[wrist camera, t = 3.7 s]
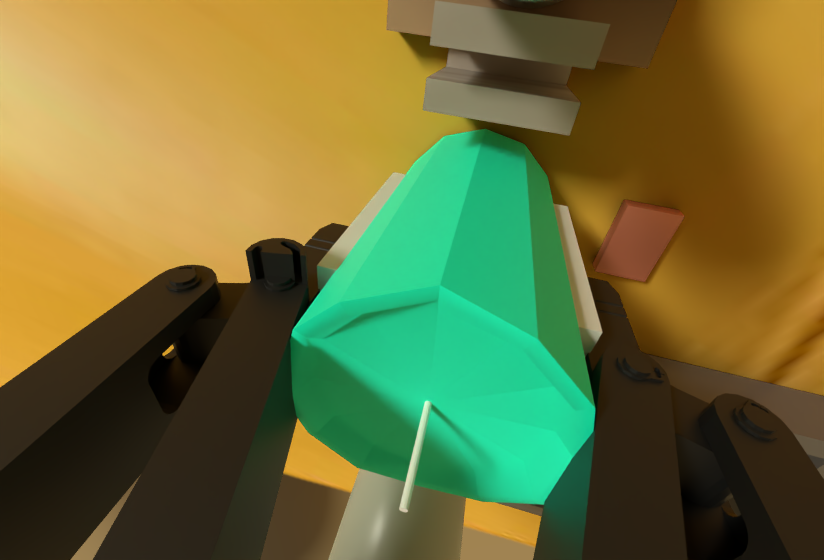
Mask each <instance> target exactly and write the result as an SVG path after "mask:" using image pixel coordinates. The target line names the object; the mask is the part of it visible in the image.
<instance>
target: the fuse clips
mask: <svg viewBox="0 0 824 560" xmlns="http://www.w3.org/2000/svg"><path fill="white" fill-rule="evenodd" d="M676 2H677V0H563V1H560V2H558V3H555V4H553V5H549V6H545V7H541V8H531V9H530V8H519V7H514V6H510V5H508V4H505V3H503V2H501V1H499V0H388V14H387V30H390V31H397V32H404V33H411V34H417V35H424V36H431V39H430V45H433V46H439V47H446V48H449V52H448V59H447V65H446V67H445V68H443V69H441V70H439V71H438V72H436V73H434V74H432V75H431V76H429V77H427V80H426V88H425V96H424V104H423V110H424V111H430V112H436V113H442V114H447V115H453V116H459V117H465V118H470V119H476V120H482V121H488V122H494V123H499V124H505V125H511V126H517V127H522V128H528V129H534V130H540V131H545V132H551V133H557V134H563V135H568V136H570V133H571V130H572V127H573V124H574V121H575V119H576V116H577V113H578V110H579V107H580V105H581V102H580V101H579V100H578V99H577V97H576V96H575V95H574V94H573V93H572V92H571V90H570V89H569V88H568V87H567V86H566V85H567V81H568V78H569V75H570V72H571V69H572V67H578V68H585V69H592V70H594V69H595V66H596V63H597V61H600V62H607V63H613V64H620V65H627V66H634V67H640V68H647V69H648V67H649V64H650V62H651V60H652V57H653V55H654V53H655V50H656V48H657V46H658V43H659V41H660V39H661V37H662V34H663V32H664V30H665V27H666V25H667V23H668V20H669V18H670V16H671V13H672V11H673V9H674V6H675V4H676ZM684 217H685V216H684V215H683V214H682V213H681V212H680V211H679V210H677V209H672V208H666V207H661V206H656V205H651V204H645V203H640V202H635V201H630V200H624V201H623V203H622V205H621V207H620V209H619V211H618V213H617V215H616V217H615V219H614V221H613V223H612V225H611V227H610V229H609V231H608V233H607V235H606V237H605V239H604V241H603V244H602V246H601V248H600V250H599V252H598V254H597V256H596V258H595V260H594V262H593V267H594V270H595V271H596V272H601V273H605V274H610V275H615V276H619V277H624V278H628V279H633V280H638V281H642V282H645V281H646V279H647V277H648V276H649V274H650V272H651V271H652V269H653V268H654V266H655V264H656V263H657V261H658V259H659V258H660V256H661V255H662V253H663V251H664V250H665V248H666V246H667V245H668V243H669V241H670V240H671V238H672V237H673V235H674V233H675V232H676V230H677V228H678V227H679V225H680V224H681V222H682V220H683V219H684Z"/></svg>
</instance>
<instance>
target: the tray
mask: <svg viewBox="0 0 824 560" xmlns="http://www.w3.org/2000/svg"><path fill="white" fill-rule="evenodd" d="M647 355H649V354H647ZM649 356H650V357H651V358H653V359H654V360H655V361H656V362H658V363H659V364H660V366H661V367H662V368H663V369H664V370H665V372H666V373H667V376H668V378H669V381H670V385H672V386H674V387H675V388H677V389H679V390H681V391H683V392H686V393H688V394H690V395H692V396H694V397H696V398H698V399H701V400H703V401H705V402H707V403H709V404H710V403H711V402H712V401H713V400H714V399H715V398H716V397H717V396H719V395H722V394H725V393H729V394H738V395H740V396H743V397H746V398H749V399H751V400H754V401H755V402H757V403H759V404H760V405H763V406H764V407H766V408H767V409H769V410H770V411H771V412H772V413H774V414H775V415H776V416H777V417H779V418H780V419H781V420H782V421H783V422H784V423H785V424H786V425H787V427H788V428H789V429H790V430H791V431H792V432H793V434H794V435H795V437H796V438H797V440H798V441H799V443H800V444H801V446H802V447H803V449H804V450H805V452H806V453H807V455H808V456H809V458H810V459H811V461H812V462H813V464H814V465H815V467H816V468H817V470H818V471H819V473H820V474H821V476H822V477H823V479H824V396H821V395H817V394H812V393H808V392H804V391H800V390H796V389H791V388H787V387H783V386H779V385H775V384H770V383H766V382H762V381H758V380H754V379H749V378H745V377H741V376H737V375H733V374H728V373H724V372H720V371H716V370H712V369H707V368H703V367H699V366H695V365H691V364H686V363H682V362H678V361H674V360H670V359H665V358H661V357H657V356H653V355H649ZM728 501H729V503H730V505H731V508H732V509H733V511H734V513H735V514H736V515H737V516H740V515H741V513H740V511H739V509H738V506H737V504H736V502H735V500H734V498H733V497H732V498H731V499H729V500H728ZM496 503H499V504H502V505H506V506H509V507H512V508H516V509H519V510H522V511H526V512H529V513H532V514H536V515H539V516H542V512H543V507H544V505H542V504H521V503H501V502H496Z"/></svg>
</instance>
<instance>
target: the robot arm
mask: <svg viewBox="0 0 824 560" xmlns="http://www.w3.org/2000/svg"><path fill="white" fill-rule="evenodd" d="M404 177H405V174H400V173H395V172H393V173H392V175H391V176H390V177H389V178H388V180H387V181H386V182H385V183H384V184H383V186H382V187H381V188H380V189H379V191H378V192H377V193H376V194H375V195H374V197H373V198H372V199H371V200H370V201H369V203H368V204H367V205H366V206H365V208H364V209H363V210H362V211H361V212H360V214H359V215H358V216H357V217H356V219H355V220H354V221H353V222H352V223H351V225H350V226H344V225H340V224H335V223H332V224H330V225H327V226H325V227H323V228H321V229H319V230H318V231H317V232H316V234H315V235H314V236H313V237H312V239H310V240H309V241H308V242H307V243H306V244H305V246H303V245H302V244H300V243H298V242H296V241H294V240H290V239H285V238H272V239H267V240H262V241H259V242H257V243H255V244H253V245H251V246H250V247H249V248H248V249H247V250H246V256H247V261H248V266H249V272H250V277H251V281H250V283H218V281H217V277H216V274H215V273H214V271H213V270H212V269H210V268H207V267H205V266H200V265H184V266H179V267H176V268H172V269H169V270H167V271H165V272H163V273H161V274H160V275H158V276H156V277H155V278H154V279H152V280H151V281H149V282H148V283H147V284H145V285H144V286H142V287H141V288H140V289H138V290H137V291H135V292H134V293H133V294H131V295H130V296H128V297H127V298H126V299H124V300H123V301H121V302H120V303H119V304H117V305H116V306H114V307H113V308H111V309H110V310H109V311H107V312H106V313H104V314H103V315H102V316H100V317H99V318H97V319H96V320H95V321H93V322H92V323H90V324H89V325H88V326H86V327H85V328H83V329H82V330H81V331H79V332H78V333H76V334H75V335H74V336H72V337H71V338H69V339H68V340H66V341H65V342H64V343H62V344H61V345H59V346H58V347H57V348H55V349H54V350H52V351H51V352H50V353H48V354H47V355H45V356H44V357H43V358H41V359H40V360H38V361H37V362H36V363H34V364H33V365H31V366H30V367H28V368H27V369H26V370H24V371H23V372H21V373H20V374H19V375H17V376H16V377H14V378H13V379H12V380H10V381H9V382H7V383H6V384H5V385H3V386H2V387H0V560H70V559H71V558H72V557H73V556H74V554H75V553H76V552H77V551H78V549H79V548H80V547H81V546H82V545H83V544H84V542H85V541H86V540H87V538H88V537H89V536H90V535H91V534H92V533H93V531H94V530H95V529H96V528H97V526H98V525H99V524H100V523H101V522H102V521H103V519H104V518H105V517H106V516H107V514H108V513H109V512H110V511H111V510H112V508H113V507H114V506H115V505H116V504H117V502H118V501H119V500H120V499H121V497H122V496H123V495H124V494H125V493H126V491H127V490H128V489H129V488H130V487H131V485H132V484H133V483H134V482H135V480H136V479H137V478H138V477H139V476H140V477H139V479H138V481H137V482H136V484H135V486H134V488H133V490H132V491H131V493H130V495H129V497H128V498H127V500H126V502H125V504H124V506H123V507H122V509H121V511H120V512H119V514H118V516H117V518H116V520H115V521H114V523H113V525H112V527H111V528H110V530H109V532H108V534H107V535H106V537H105V539H104V541H103V543H102V544H101V546H100V548H99V550H98V552H97V553H96V555H95V557H94V558H93V560H260V558H261V555H262V551H263V547H264V543H265V540H266V536H267V532H268V528H269V524H270V521H271V517H272V513H273V509H274V505H275V502H276V498H277V494H278V490H279V486H280V482H281V479H282V475H283V471H284V467H285V463H286V460H287V456H288V452H289V448H290V444H291V441H292V437H293V433H294V429H295V425H296V422H297V416H296V411H295V406H294V400H293V393H292V373H291V346H290V339H291V335H292V331H293V329H294V327H295V326H296V324H297V323H298V322H299V320H300V319H301V318H302V316H303V315H304V313H305V312H306V311H307V309H308V308H309V307H310V305H311V304H312V302H313V301H314V300H315V298H316V297H317V296H318V294H319V293H320V292H321V290H322V289H323V287H324V286H325V285H326V283H327V282H328V281H329V279H330V278H331V276H332V275H333V274H334V272H335V271H336V270H337V269H338V268H339V266H340V265H341V263H342V262H343V261H344V259H345V258H346V257H347V255H348V254H349V252H350V251H351V250H352V248H353V247H354V246H355V244H356V243H357V241H358V240H359V239H360V237H361V236H362V235H363V233H364V232H365V230H366V229H367V228H368V226H369V225H370V224H371V222H372V221H373V219H374V218H375V217H376V215H377V214H378V213H379V211H380V210H381V208H382V207H383V206H384V204H385V203H386V202H387V200H388V199H389V197H390V196H391V195H392V193H393V192H394V191H395V189H396V188H397V186H398V185H399V184H400V182H401V181H402V180H403V178H404ZM553 205H554V209H555V214H556V219H557V224H558V229H559V234H560V239H561V243H562V248H563V253H564V258H565V263H566V268H567V273H568V278H569V282H570V287H571V292H572V297H573V302H574V307H575V312H576V316H577V321H578V326H579V331H580V336H581V341H582V346H583V350H584V355H585V360H586V365H587V370H588V375H589V380H590V385H591V389H592V394H593V399H594V404H595V419H594V430H593V433H592V434H591V435H590V436H589V438H588V439H587V440H586V442H585V443H584V444H583V445H582V447H581V448H580V449H579V450H578V452H577V453H576V454H575V456H574V457H573V458H572V459H571V461H570V463H569V464H568V466H567V467H566V469H565V471H564V472H563V474H562V475H561V477H560V478H559V480H558V481H557V483H556V485H555V486H554V488H553V489H552V491H551V492H550V494H549V495H548V497H547V499H546V500H545V502H544V507H543V512H542V517H541V522H540V527H539V532H538V538H537V543H536V548H535V553H534V558H533V560H824V479H823V477H822V476H821V474H820V473H819V471H818V470H817V468H816V467H815V465H814V464H813V462H812V461H811V459H810V458H809V456H808V455H807V453H806V452H805V450H804V449H803V447H802V446H801V444H800V443H799V441H798V440H797V438H796V437H795V435H794V434H793V432H792V431H791V430H790V429H789V428H788V427H787V425H786V424H785V423H784V422H783V421H782V420H781V419H780V418H779V417H777V416H776V415H775V414H774V413H772V412H771V411H770V410H769V409H767V408H766V407H764V406H763V405H760V404H759V403H757V402H755V401H754V400H751V399H749V398H746V397H743V396H740V395H738V394H729V393H725V394H722V395H719V396H717V397H716V398H715V399H714V400H713V401H712V402H711V403H710V404H709V403H707V402H705V401H703V400H701V399H698V398H696V397H694V396H692V395H690V394H688V393H686V392H683V391H681V390H679V389H677V388H675V387H674V386H672V385H670V381H669V378H668V376H667V373H666V372H665V370H664V369H663V368H662V367H661V366H660V364H659V363H658V362H656V361H655V360H654V359H653V358H651V357H650V356H649V355H647V354H645V353H643V352H641V351H640V349H639V347H638V344H637V341H636V339H635V336H634V334H633V331H632V328H631V326H630V323H629V320H628V318H626V317H627V315H626V312H625V310H624V308H623V304H622V302H621V299H620V296H619V294H618V293H617V292H616V290H615V289H614V288H613V287H612V286H611V285H610V284H609V283H608V282H607V281H603V280H598V279H593V278H589V277H587V275H586V271H585V268H584V264H583V260H582V257H581V253H580V250H579V246H578V243H577V239H576V235H575V232H574V228H573V225H572V221H571V217H570V214H569V210H568V207H567V206H563V205H558V204H553ZM172 344H173V346H174V349H173V350H172V351H171V352H170V353H168V354H167V355H165V356H163V355H162V353H164V352H165V351H166V350H167V349H168V348H169V347H170V346H171V345H172ZM141 473H142V474H141ZM140 474H141V475H140ZM732 497H733V498H734V500H735V502H736V504H737V506H738V509H739V511H740V513H741V515H740V516H737V515H736V514H735V513H734V511H733V509H732V508H731V505H730V503H729V501H728V500H729V499H731V498H732Z"/></svg>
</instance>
